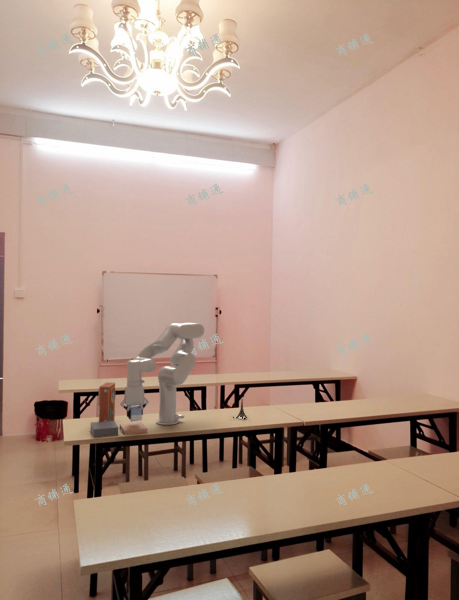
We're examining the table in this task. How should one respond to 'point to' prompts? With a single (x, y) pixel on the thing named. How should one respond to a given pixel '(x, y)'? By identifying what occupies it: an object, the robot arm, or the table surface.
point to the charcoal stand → (104, 428)
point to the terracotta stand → (133, 428)
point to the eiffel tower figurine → (241, 411)
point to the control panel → (107, 402)
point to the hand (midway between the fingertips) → (134, 416)
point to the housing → (135, 413)
